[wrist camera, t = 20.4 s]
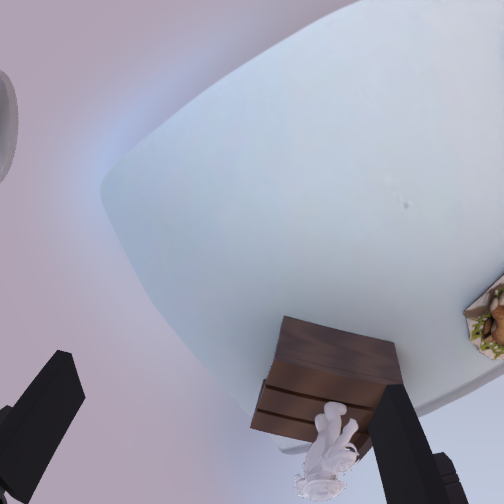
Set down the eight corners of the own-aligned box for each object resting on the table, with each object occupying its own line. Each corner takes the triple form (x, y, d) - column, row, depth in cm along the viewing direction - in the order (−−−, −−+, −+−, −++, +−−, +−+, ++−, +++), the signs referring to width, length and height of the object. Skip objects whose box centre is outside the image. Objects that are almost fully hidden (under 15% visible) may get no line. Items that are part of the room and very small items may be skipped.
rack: (261, 384, 42) (246, 440, 33) (284, 315, 37) (270, 373, 28) (357, 405, 40) (358, 462, 31) (394, 342, 36) (407, 401, 27)
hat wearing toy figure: (335, 382, 30) (330, 486, 19) (367, 394, 29) (371, 494, 19) (294, 429, 33) (278, 517, 22) (324, 438, 33) (314, 525, 22)
